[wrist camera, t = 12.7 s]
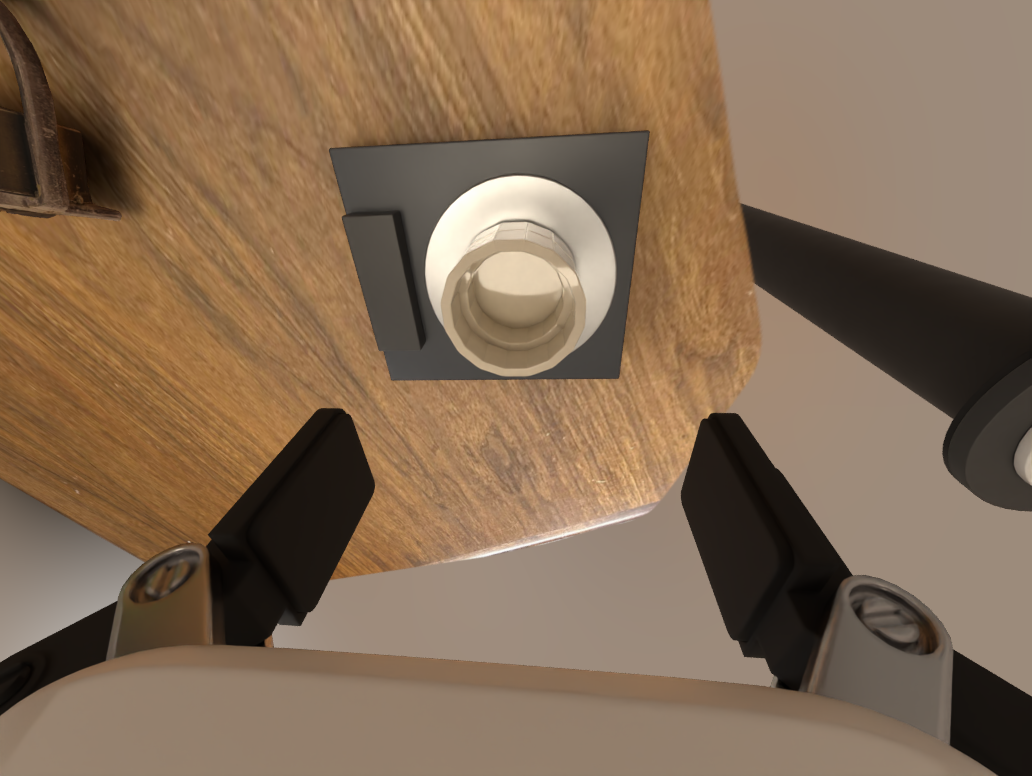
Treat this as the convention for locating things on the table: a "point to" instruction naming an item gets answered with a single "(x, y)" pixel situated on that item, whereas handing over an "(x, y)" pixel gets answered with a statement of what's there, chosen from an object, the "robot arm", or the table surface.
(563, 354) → the bowl
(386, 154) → the scale
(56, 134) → the mechanical counter
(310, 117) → the table surface
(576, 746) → the robot arm
